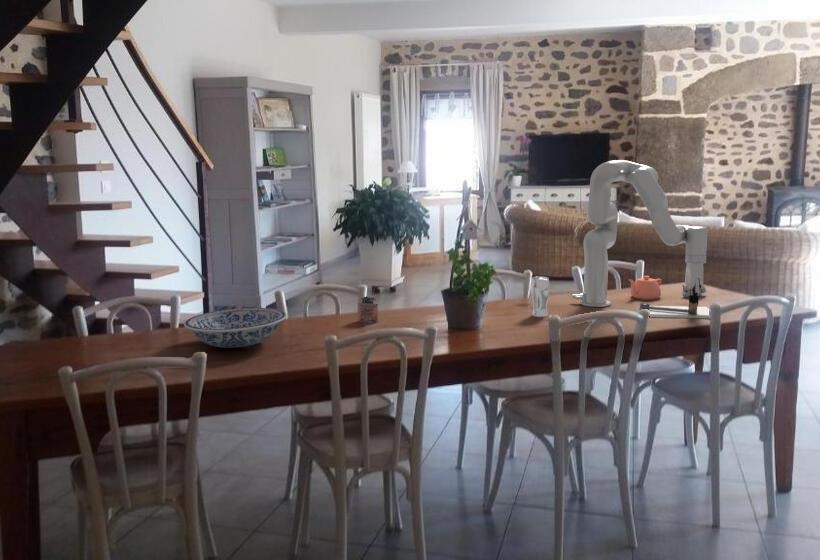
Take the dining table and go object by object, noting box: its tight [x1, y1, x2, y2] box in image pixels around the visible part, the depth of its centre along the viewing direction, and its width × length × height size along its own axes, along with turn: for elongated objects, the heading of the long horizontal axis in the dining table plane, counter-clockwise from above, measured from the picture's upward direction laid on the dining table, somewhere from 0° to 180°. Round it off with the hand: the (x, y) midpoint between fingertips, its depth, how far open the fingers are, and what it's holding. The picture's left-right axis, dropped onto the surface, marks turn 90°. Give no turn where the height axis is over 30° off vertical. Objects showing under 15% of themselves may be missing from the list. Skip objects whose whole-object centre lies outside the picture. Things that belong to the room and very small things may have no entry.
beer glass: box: [530, 276, 550, 318], centre depth 295 cm, size 7×7×15 cm
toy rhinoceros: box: [681, 282, 707, 299], centre depth 328 cm, size 7×12×8 cm, turn 119°
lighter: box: [358, 295, 379, 324], centre depth 290 cm, size 8×3×10 cm, turn 62°
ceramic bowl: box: [183, 307, 287, 349], centre depth 259 cm, size 34×34×10 cm
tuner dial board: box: [638, 305, 710, 319], centre depth 296 cm, size 26×17×1 cm, turn 81°
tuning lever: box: [639, 301, 699, 314], centre depth 294 cm, size 21×4×4 cm, turn 62°
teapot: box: [628, 275, 662, 301], centre depth 327 cm, size 12×18×10 cm
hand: (693, 305), depth 293 cm, fingers closed
